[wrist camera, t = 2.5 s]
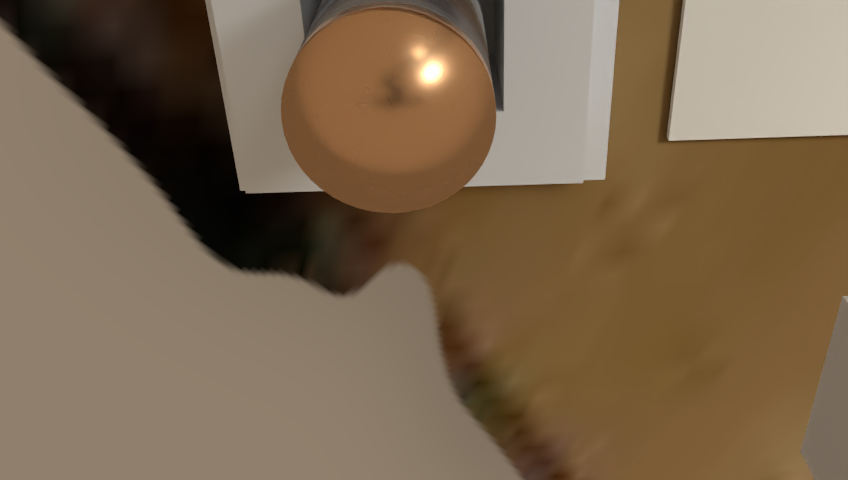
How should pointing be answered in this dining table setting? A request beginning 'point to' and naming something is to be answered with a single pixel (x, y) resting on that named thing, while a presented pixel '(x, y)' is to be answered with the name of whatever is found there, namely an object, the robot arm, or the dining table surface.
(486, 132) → the copper top metal cylinder
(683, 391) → the dining table surface
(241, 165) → the housing
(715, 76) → the pad
